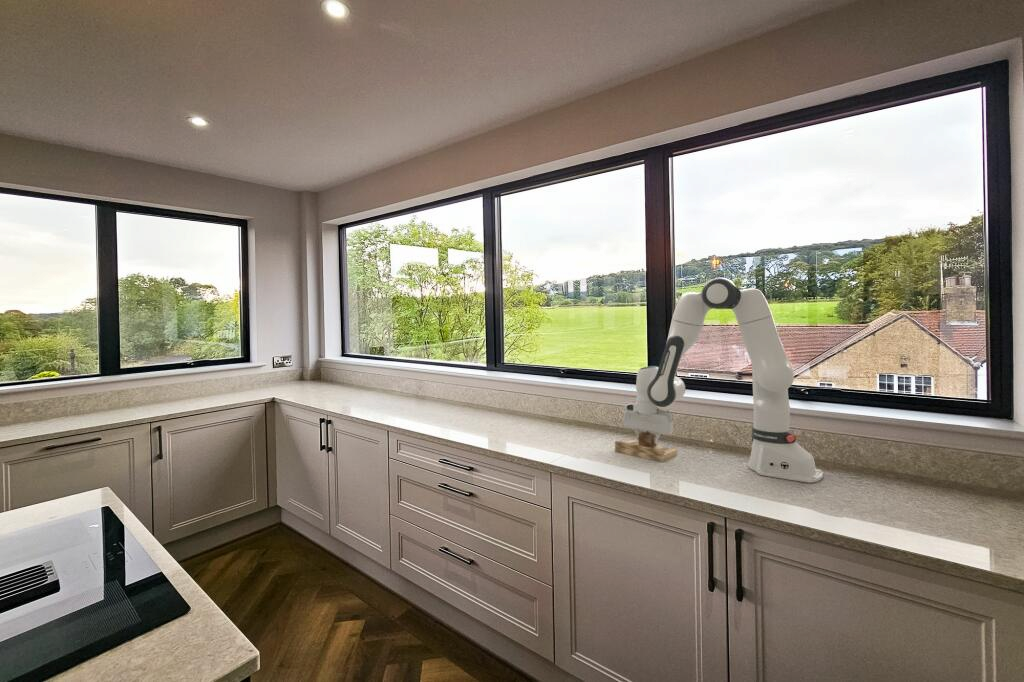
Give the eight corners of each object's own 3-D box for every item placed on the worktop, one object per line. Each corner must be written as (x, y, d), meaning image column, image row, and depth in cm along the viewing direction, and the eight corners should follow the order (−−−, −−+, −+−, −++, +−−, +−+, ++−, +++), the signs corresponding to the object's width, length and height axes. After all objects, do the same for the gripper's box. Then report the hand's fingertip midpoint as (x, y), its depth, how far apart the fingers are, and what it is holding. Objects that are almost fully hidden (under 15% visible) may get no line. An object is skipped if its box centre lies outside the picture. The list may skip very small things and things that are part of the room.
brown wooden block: (656, 445, 188) (656, 431, 188) (650, 448, 184) (650, 433, 184) (645, 443, 192) (645, 429, 191) (638, 446, 188) (638, 431, 188)
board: (676, 454, 184) (676, 444, 184) (661, 462, 175) (661, 451, 175) (631, 445, 198) (631, 435, 198) (615, 451, 190) (615, 441, 189)
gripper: (676, 409, 182) (676, 445, 183) (629, 402, 196) (629, 435, 197) (668, 412, 177) (668, 448, 178) (621, 404, 192) (620, 438, 193)
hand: (647, 441), depth 188 cm, fingers closed on brown wooden block, 5 cm apart
